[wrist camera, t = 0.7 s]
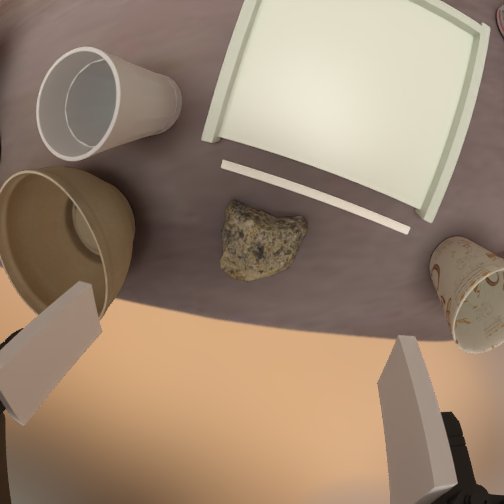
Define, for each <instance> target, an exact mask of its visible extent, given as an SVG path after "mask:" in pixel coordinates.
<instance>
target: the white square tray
mask: <svg viewBox="0 0 504 504" xmlns="http://www.w3.org/2000/svg"><path fill="white" fill-rule="evenodd" d="M489 35H490V27H489V26H487V25H486V24H484V23H483V22H482V23H480V24H478V23H477V22H475V21H474V20H472V19H471V18H469V17H467V16H466V15H464V14H463V13H461V12H459V11H458V10H456V9H454V8H453V7H451V6H449V5H447V4H446V3H444V2H442V1H440V0H245V1H244V4H243V6H242V9H241V12H240V15H239V18H238V20H237V23H236V26H235V29H234V32H233V35H232V38H231V41H230V44H229V47H228V50H227V53H226V56H225V59H224V62H223V66H222V69H221V72H220V75H219V78H218V82H217V85H216V88H215V92H214V95H213V99H212V102H211V106H210V109H209V113H208V116H207V120H206V124H205V127H204V131H203V135H202V139H201V140H203V141H207V142H211V143H213V142H218V141H220V139H221V137H222V138H226V139H229V140H233V141H236V142H240V143H243V144H246V145H250V146H253V147H256V148H260V149H263V150H266V151H269V152H272V153H275V154H279V155H282V156H285V157H288V158H291V159H294V160H297V161H300V162H302V163H305V164H308V165H311V166H314V167H317V168H319V169H322V170H325V171H328V172H330V173H333V174H336V175H338V176H341V177H344V178H346V179H349V180H351V181H354V182H356V183H359V184H361V185H364V186H366V187H369V188H371V189H374V190H376V191H379V192H381V193H383V194H386V195H388V196H390V197H393V198H395V199H397V200H400V201H402V202H404V203H406V204H409V205H411V206H413V207H415V208H416V210H415V212H416V213H417V214H418V215H419V216H420V217H421V218H422V219H423V220H426V221H428V222H430V223H432V222H433V220H434V217H435V215H436V213H437V211H438V208H439V206H440V204H441V201H442V199H443V196H444V194H445V191H446V189H447V186H448V184H449V181H450V179H451V176H452V173H453V171H454V168H455V165H456V163H457V160H458V157H459V154H460V151H461V148H462V145H463V142H464V139H465V136H466V133H467V130H468V126H469V123H470V120H471V116H472V113H473V109H474V106H475V102H476V98H477V94H478V90H479V86H480V82H481V77H482V73H483V68H484V63H485V58H486V53H487V47H488V41H489Z"/></svg>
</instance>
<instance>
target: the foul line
mask: <svg viewBox="0 0 504 504" xmlns="http://www.w3.org/2000/svg"><path fill="white" fill-rule="evenodd" d="M221 168H223V169H226V170H229V171H233V172H236V173H239V174H242V175H246V176H249V177H252V178H255V179H258V180H261V181H264V182H267V183H270V184H273V185H276V186H279V187H282V188H285V189H288V190H291V191H294V192H297V193H300V194H303V195H305V196H308V197H311V198H314V199H317V200H319V201H322V202H325V203H328V204H330V205H333V206H336V207H338V208H341V209H344V210H346V211H349V212H352V213H354V214H357V215H359V216H362V217H365V218H367V219H370V220H372V221H375V222H377V223H380V224H382V225H385V226H387V227H390V228H392V229H394V230H397V231H399V232H402V233H404V234H406V235H407V234H408V232H409V230H410V227H409V226H407V225H404V224H402V223H400V222H397V221H395V220H392V219H390V218H388V217H385V216H383V215H380V214H378V213H375V212H373V211H370V210H368V209H365V208H363V207H360V206H358V205H355V204H353V203H350V202H348V201H345V200H342V199H340V198H337V197H334V196H332V195H329V194H326V193H323V192H321V191H318V190H315V189H312V188H310V187H307V186H304V185H301V184H298V183H295V182H292V181H289V180H287V179H284V178H281V177H278V176H275V175H272V174H268V173H265V172H262V171H259V170H256V169H253V168H250V167H246V166H243V165H240V164H237V163H233V162H230V161H227V160H223V161H222V165H221Z"/></svg>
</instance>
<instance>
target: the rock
mask: <svg viewBox="0 0 504 504" xmlns="http://www.w3.org/2000/svg"><path fill="white" fill-rule="evenodd" d="M307 230H308V224H307V222H306V223H305V220H304V219H303V217H302V216H294V217H290V216H288V217H282V218H276V217H274V216H272V215H271V214H269V213H266V212H264V211H263V210H260V211H257V210H255V209H253V208H250V207H248V206H246V205H244V204H243V203H241V202H238V201H236V200H233V201H231V203H230V205H229V206H227V208H226V216H225V219H224V224H223V228H222V243H223V254H222V256H221V258H220V267H221V269H222V270H223V271H224V272H225V273H226V274H228V275H229V276H230V277H231V278H234V279H239V280H242V281H246V282H251V281H253V280H254V279H260V278H263V277H267V276H273V275H274V274H276V273H278V272H280V271H281V270H286V269H288V268H289V265H290V264H291V263H292V262H293V260H294V258H295V255H296V252H297V251H298V248H299V245H300V243H301V241H302V240H303V238H304V235H305V234H306V232H307Z"/></svg>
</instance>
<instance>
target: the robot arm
mask: <svg viewBox="0 0 504 504" xmlns="http://www.w3.org/2000/svg"><path fill="white" fill-rule="evenodd" d="M101 333H102V330H101V326H100V322H99V317H98V313H97V308H96V304H95V299H94V294H93V289H92V284H89V283H85V282H81V281H79V282H77V283H76V284H75V285H74V286H72V287H71V288H70V289H69V290H68V291H66V292H65V293H64V294H63V295H62V296H60V297H59V298H58V299H57V300H56V301H54V302H53V303H52V304H51V305H50V306H49V307H47V308H46V309H45V310H44V311H43V312H42V313H41V314H39V315H38V316H37V317H36V318H35V319H34V320H33V321H31V322H30V323H29V324H28V325H27V326H26V327H25V328H22V329H20V330H18V331H16V332H14V333H13V334H11V335H10V336H9V337H8V338H7V339H6V340H5V342H3V343H2V344H0V504H11V498H10V491H9V483H8V473H7V461H6V440H5V415H4V414H3V411H4V410H5V409H6V410H7V411H8V413H9V414H10V416H11V417H12V418H13V419H14V420H16V421H17V422H19V423H20V424H22V425H23V426H25V424H26V423H27V422H28V421H29V419H30V418H31V416H32V415H33V414H34V413H35V412H36V410H37V409H38V408H39V406H40V405H41V404H42V403H43V402H44V400H45V399H46V398H47V397H48V395H49V394H50V393H51V392H52V390H53V389H54V388H55V387H56V385H57V384H58V383H59V382H60V381H61V379H62V378H63V377H64V376H65V375H66V373H67V372H68V371H69V370H70V369H71V367H72V366H73V365H74V364H75V363H76V362H77V360H78V359H79V358H80V357H81V356H82V354H83V353H84V352H85V351H86V350H87V348H89V346H90V345H91V344H92V343H93V342H94V341H95V340H96V338H97V337H98V336H99V335H100V334H101ZM377 384H378V390H379V397H380V404H381V411H382V418H383V425H384V434H385V442H386V451H387V462H388V473H389V486H390V503H391V504H504V496H503V495H491V494H488V492H487V490H486V489H485V488H484V487H482V486H481V485H477V484H476V481H475V478H474V474H473V470H472V466H471V461H470V458H469V454H468V450H467V447H466V446H465V444H466V443H465V439H464V437H463V432H462V429H461V426H460V423H459V421H458V420H457V418H456V417H455V416H454V414H453V413H452V412H440V409H439V406H438V402H437V399H436V396H435V392H434V389H433V387H432V383H431V380H430V377H429V374H428V371H427V368H426V365H425V362H424V360H423V357H422V354H421V351H420V348H419V346H418V343H417V340H416V338H415V336H402V335H398V337H397V340H396V342H395V345H394V347H393V349H392V352H391V354H390V356H389V359H388V361H387V363H386V366H385V367H384V370H383V372H382V374H381V376H380V379H379V380H378V382H377Z"/></svg>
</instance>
